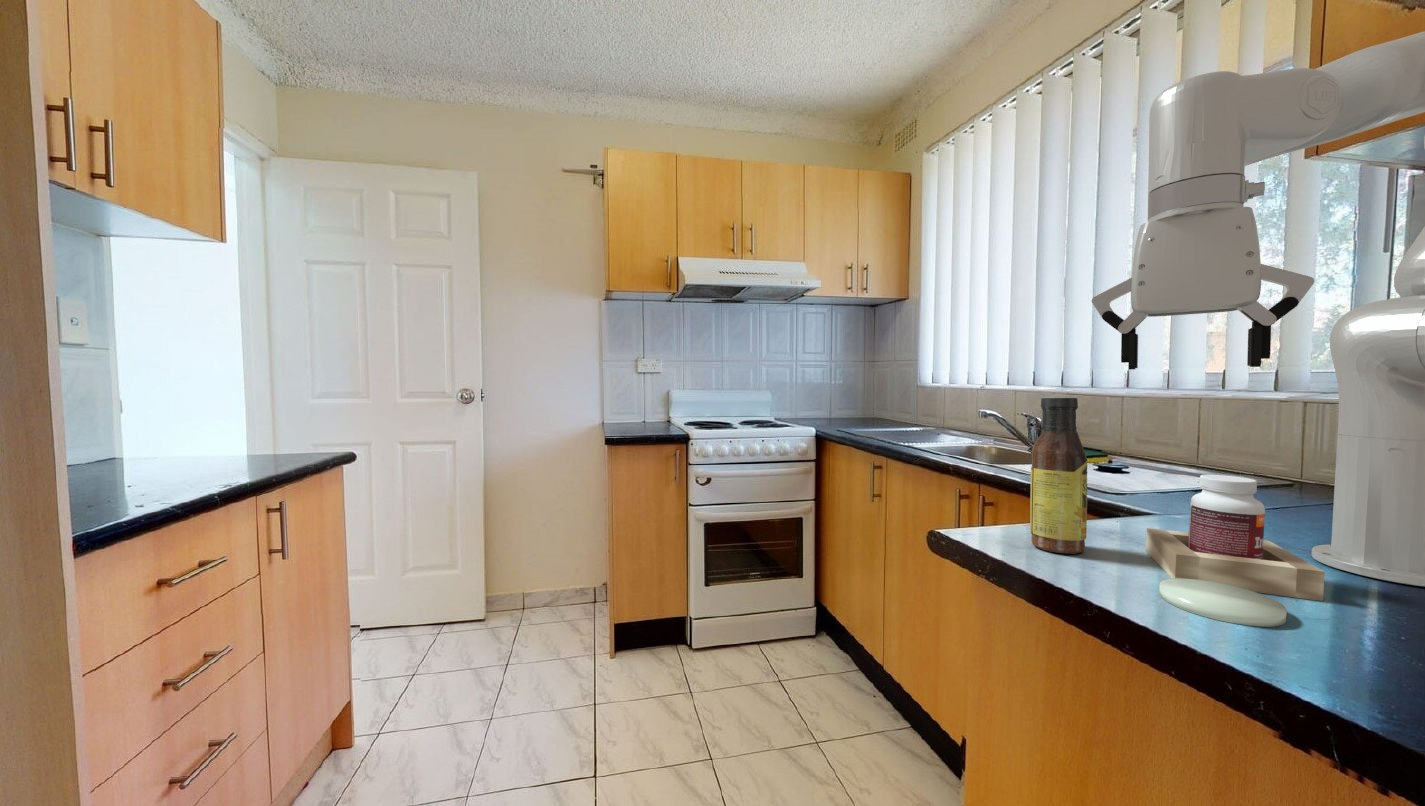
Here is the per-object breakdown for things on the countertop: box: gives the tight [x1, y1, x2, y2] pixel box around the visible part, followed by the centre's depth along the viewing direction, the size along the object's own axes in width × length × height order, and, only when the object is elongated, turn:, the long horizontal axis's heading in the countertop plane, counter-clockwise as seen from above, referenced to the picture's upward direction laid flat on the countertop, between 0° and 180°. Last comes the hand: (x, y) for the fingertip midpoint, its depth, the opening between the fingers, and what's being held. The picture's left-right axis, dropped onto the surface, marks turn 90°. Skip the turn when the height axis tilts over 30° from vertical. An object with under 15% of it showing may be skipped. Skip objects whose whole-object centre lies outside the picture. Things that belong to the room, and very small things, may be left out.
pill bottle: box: [1188, 474, 1266, 560], centre depth 61 cm, size 6×6×11 cm
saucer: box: [1158, 578, 1287, 628], centre depth 53 cm, size 9×9×1 cm
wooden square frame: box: [1145, 528, 1325, 602], centre depth 61 cm, size 12×12×3 cm
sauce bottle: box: [1029, 396, 1088, 555], centre depth 70 cm, size 6×6×20 cm
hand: (1190, 368), depth 57 cm, fingers open, 9 cm apart
